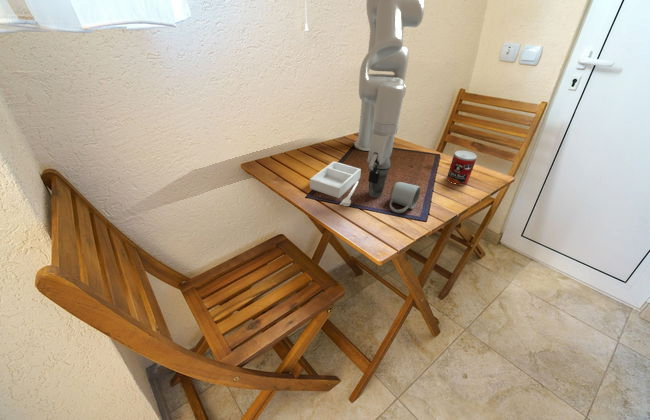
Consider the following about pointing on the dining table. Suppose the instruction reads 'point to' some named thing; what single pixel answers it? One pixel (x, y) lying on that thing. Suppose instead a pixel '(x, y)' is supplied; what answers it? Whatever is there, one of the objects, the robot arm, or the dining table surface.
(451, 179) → the canned food
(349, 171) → the divided tray
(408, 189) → the ceramic mug
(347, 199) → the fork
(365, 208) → the dining table surface
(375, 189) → the beverage cup
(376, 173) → the robot arm
